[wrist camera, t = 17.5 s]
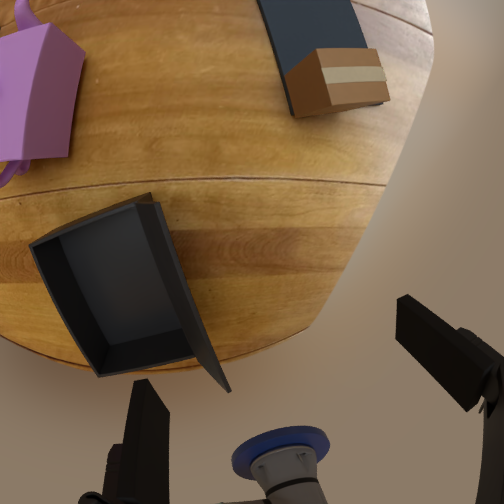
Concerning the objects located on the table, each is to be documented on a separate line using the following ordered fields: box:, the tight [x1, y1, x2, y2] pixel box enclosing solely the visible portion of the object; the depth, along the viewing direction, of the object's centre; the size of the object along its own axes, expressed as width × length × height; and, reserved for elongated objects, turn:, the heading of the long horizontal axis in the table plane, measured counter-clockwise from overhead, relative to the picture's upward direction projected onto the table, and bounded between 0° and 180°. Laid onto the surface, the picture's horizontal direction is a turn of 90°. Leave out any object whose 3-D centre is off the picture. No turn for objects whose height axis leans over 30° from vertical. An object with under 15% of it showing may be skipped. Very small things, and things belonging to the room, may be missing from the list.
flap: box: [135, 202, 232, 393], centre depth 22 cm, size 17×6×1 cm
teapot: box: [0, 0, 86, 188], centre depth 17 cm, size 20×10×12 cm, turn 173°
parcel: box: [284, 48, 390, 118], centre depth 23 cm, size 5×6×9 cm
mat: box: [257, 0, 383, 115], centre depth 25 cm, size 19×12×1 cm, turn 14°
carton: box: [29, 192, 196, 377], centre depth 28 cm, size 17×13×6 cm
